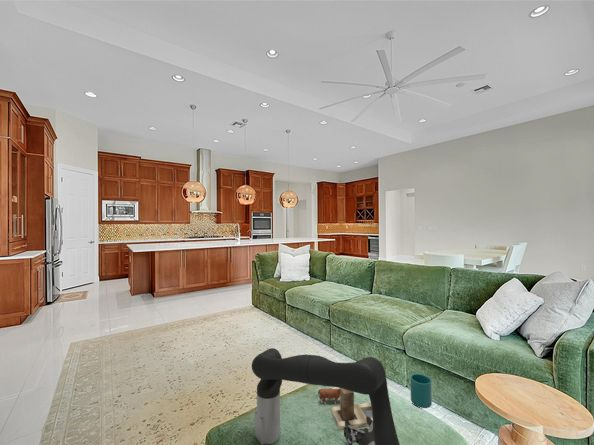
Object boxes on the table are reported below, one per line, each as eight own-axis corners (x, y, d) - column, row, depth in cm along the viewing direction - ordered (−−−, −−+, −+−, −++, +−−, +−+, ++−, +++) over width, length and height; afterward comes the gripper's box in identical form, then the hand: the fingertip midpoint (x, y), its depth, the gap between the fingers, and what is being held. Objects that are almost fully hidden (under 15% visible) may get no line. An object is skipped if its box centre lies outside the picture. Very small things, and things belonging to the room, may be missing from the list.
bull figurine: (347, 407, 128) (347, 389, 128) (318, 406, 128) (318, 389, 128) (346, 401, 132) (346, 384, 132) (317, 400, 132) (317, 383, 133)
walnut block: (343, 422, 116) (343, 393, 117) (340, 415, 121) (340, 387, 121) (354, 421, 117) (353, 392, 117) (350, 414, 122) (350, 386, 122)
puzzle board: (339, 431, 112) (339, 426, 112) (330, 412, 124) (330, 407, 124) (389, 425, 116) (389, 419, 116) (376, 406, 128) (376, 401, 128)
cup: (423, 393, 138) (423, 370, 139) (435, 408, 126) (435, 384, 127) (405, 393, 138) (405, 370, 139) (415, 409, 126) (415, 384, 127)
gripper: (395, 438, 94) (373, 408, 110) (355, 444, 91) (339, 412, 107) (395, 461, 94) (373, 427, 110) (355, 467, 91) (339, 431, 107)
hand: (356, 419), depth 108 cm, fingers open, 8 cm apart
